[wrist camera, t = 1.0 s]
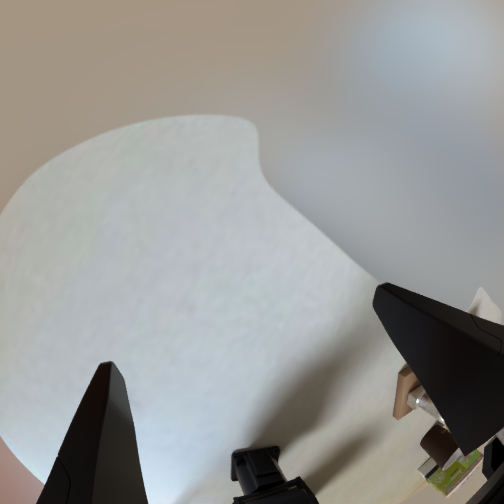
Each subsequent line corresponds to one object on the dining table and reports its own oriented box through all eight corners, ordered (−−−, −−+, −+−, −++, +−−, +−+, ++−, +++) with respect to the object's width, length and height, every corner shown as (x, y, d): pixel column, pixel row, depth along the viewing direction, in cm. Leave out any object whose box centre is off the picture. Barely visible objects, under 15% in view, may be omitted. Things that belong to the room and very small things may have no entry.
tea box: (453, 431, 52) (486, 454, 38) (454, 440, 54) (483, 462, 40) (416, 470, 49) (446, 497, 35) (420, 475, 52) (447, 500, 38)
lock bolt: (406, 406, 35) (452, 441, 25) (409, 391, 35) (459, 426, 24) (441, 380, 38) (485, 407, 27) (444, 364, 37) (491, 391, 26)
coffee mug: (415, 442, 44) (442, 464, 34) (441, 415, 45) (469, 435, 36) (418, 456, 47) (442, 476, 37) (442, 433, 48) (466, 451, 39)
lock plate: (392, 415, 38) (414, 433, 32) (398, 373, 36) (424, 391, 30) (456, 367, 42) (477, 378, 37) (464, 325, 40) (487, 335, 34)
